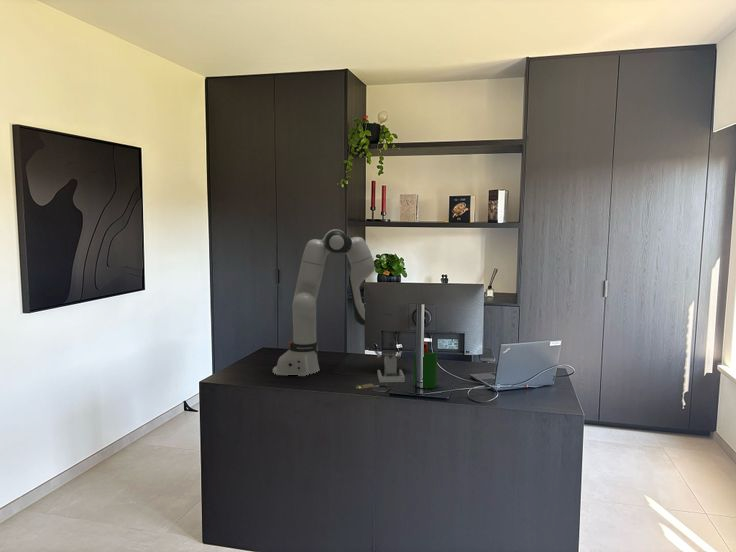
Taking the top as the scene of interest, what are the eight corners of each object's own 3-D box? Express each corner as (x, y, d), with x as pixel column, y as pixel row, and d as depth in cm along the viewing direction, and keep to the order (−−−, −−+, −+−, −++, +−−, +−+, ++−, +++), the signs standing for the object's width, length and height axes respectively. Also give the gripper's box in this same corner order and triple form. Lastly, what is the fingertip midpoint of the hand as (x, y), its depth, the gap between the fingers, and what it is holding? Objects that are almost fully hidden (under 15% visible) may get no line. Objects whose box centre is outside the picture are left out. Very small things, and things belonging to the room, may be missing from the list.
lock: (385, 380, 242) (385, 356, 241) (384, 376, 248) (384, 353, 247) (396, 380, 242) (396, 356, 241) (394, 376, 248) (395, 352, 247)
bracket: (379, 382, 238) (379, 377, 238) (377, 375, 250) (377, 369, 249) (404, 382, 239) (404, 376, 239) (401, 374, 250) (401, 369, 250)
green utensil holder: (436, 383, 238) (437, 339, 236) (437, 389, 229) (438, 344, 227) (413, 382, 239) (414, 339, 237) (413, 388, 230) (414, 343, 228)
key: (358, 389, 228) (358, 388, 228) (354, 387, 231) (354, 385, 231) (374, 387, 232) (374, 385, 232) (370, 385, 235) (370, 383, 235)
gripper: (366, 329, 255) (367, 354, 246) (408, 328, 256) (411, 353, 247) (365, 336, 259) (366, 360, 251) (407, 335, 261) (409, 360, 252)
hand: (389, 357), depth 249 cm, fingers open, 8 cm apart
